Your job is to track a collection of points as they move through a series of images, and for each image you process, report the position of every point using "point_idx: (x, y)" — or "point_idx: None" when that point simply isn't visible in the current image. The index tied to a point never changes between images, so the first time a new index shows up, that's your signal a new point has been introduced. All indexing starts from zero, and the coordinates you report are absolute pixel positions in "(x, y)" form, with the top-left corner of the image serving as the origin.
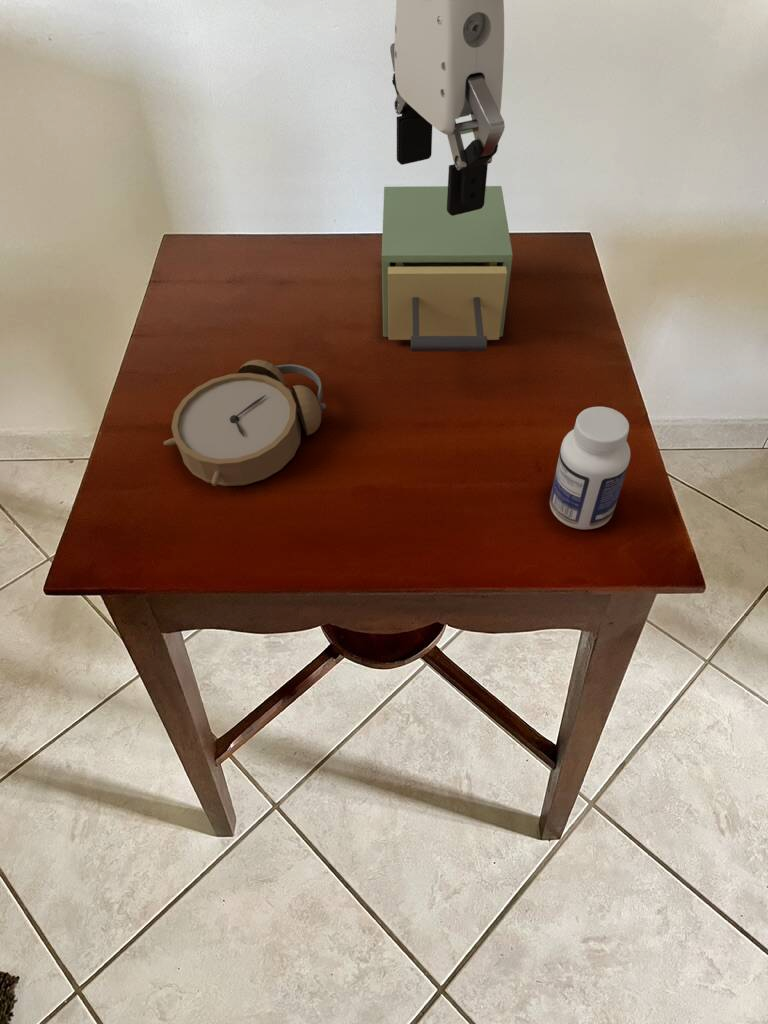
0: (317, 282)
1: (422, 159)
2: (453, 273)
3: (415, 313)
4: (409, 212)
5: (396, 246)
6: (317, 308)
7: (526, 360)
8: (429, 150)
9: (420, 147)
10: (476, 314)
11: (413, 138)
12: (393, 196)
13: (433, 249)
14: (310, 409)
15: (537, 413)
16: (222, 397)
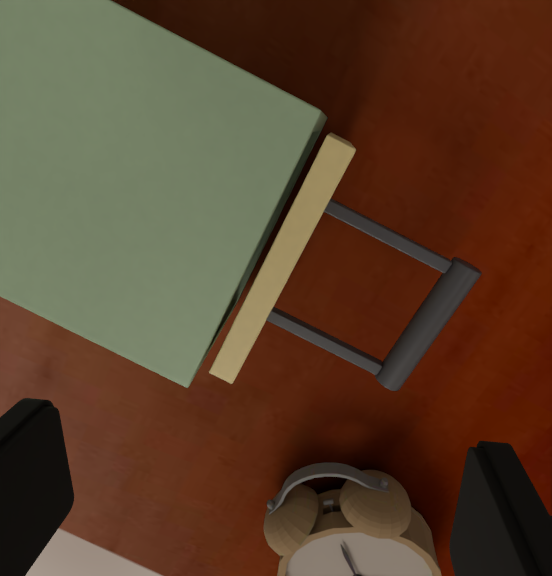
0: (59, 330)
1: (62, 436)
2: (293, 267)
3: (314, 338)
4: (34, 252)
5: (166, 347)
6: (126, 358)
7: (412, 112)
8: (38, 428)
9: (33, 479)
10: (380, 238)
11: (7, 539)
12: None
13: (209, 283)
14: (405, 520)
15: (546, 177)
16: (310, 573)
